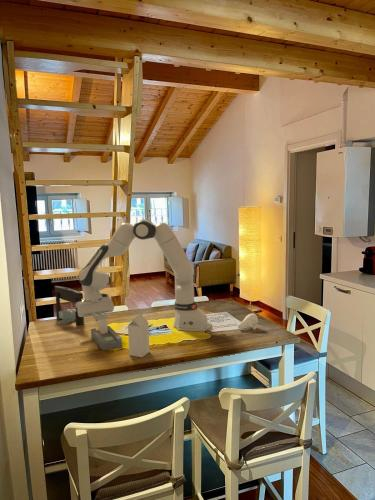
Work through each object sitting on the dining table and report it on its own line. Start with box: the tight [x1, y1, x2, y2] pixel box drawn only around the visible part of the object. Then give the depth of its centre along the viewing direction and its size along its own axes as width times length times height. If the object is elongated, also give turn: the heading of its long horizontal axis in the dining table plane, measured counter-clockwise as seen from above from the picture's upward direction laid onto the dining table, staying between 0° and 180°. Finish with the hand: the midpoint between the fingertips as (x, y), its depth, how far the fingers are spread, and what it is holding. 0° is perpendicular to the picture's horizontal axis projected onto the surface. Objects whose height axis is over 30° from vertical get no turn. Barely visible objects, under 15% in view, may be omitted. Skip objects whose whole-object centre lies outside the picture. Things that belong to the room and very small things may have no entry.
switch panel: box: [90, 325, 123, 351], centre depth 189 cm, size 22×10×4 cm, turn 29°
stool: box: [54, 285, 85, 326], centre depth 224 cm, size 16×21×33 cm
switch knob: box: [96, 313, 109, 334], centre depth 192 cm, size 5×5×9 cm
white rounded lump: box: [237, 312, 259, 331], centre depth 202 cm, size 6×8×12 cm
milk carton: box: [127, 313, 150, 358], centre depth 171 cm, size 7×7×19 cm
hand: (98, 320), depth 199 cm, fingers closed
